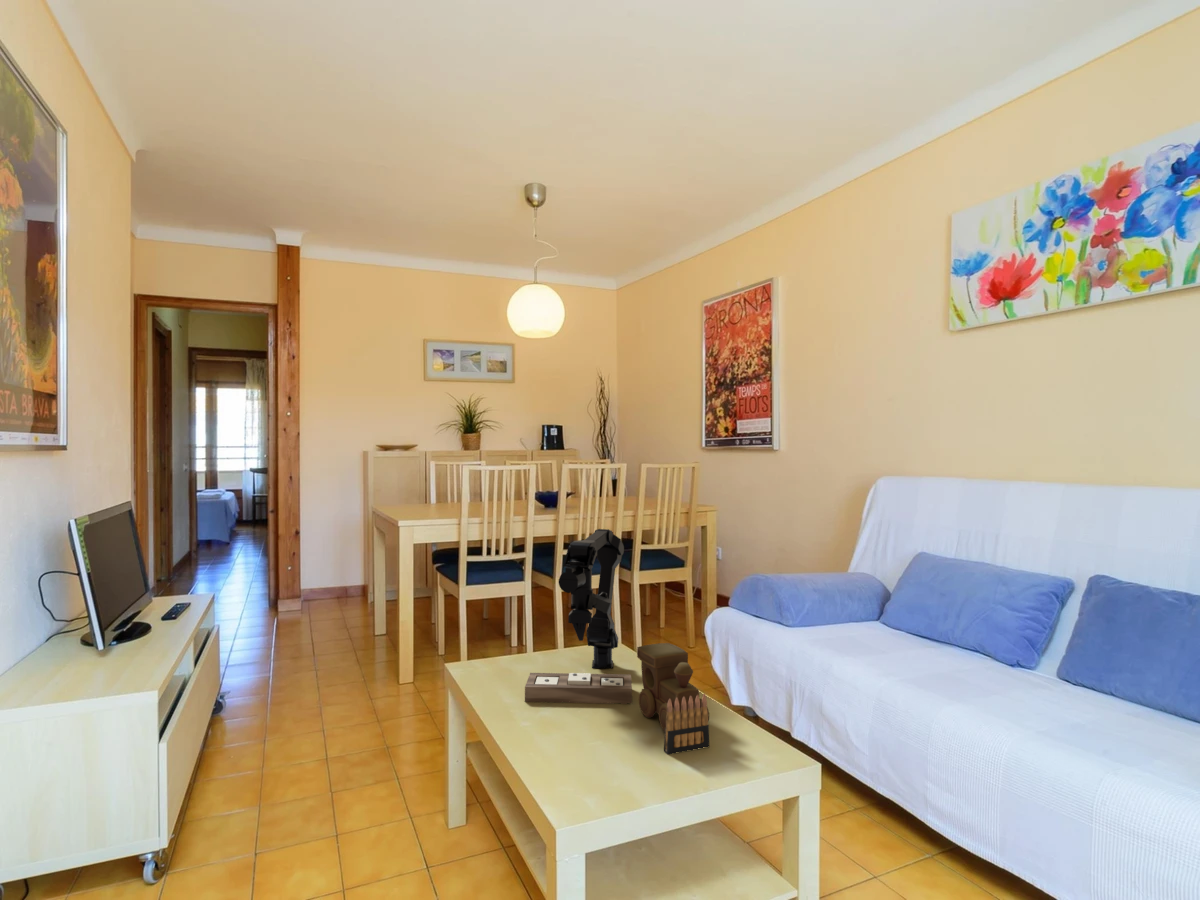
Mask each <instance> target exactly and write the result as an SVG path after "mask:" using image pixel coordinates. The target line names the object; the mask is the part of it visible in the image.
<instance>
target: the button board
mask: <svg viewBox="0 0 1200 900" xmlns="http://www.w3.org/2000/svg"><path fill="white" fill-rule="evenodd" d="M569 673H570V672H568V673H563V672H562V673H561V672H560V673H559V672H556V673H555V672H529V675H528V677H527V681H526V683H525V686H524V702H525V701H526V702H525V703H561V702H567V704H568V703H569V704H573V703H574V704H576V703H577V704H614V703H621V704H622V705H628V704H627V703H632V704H633V685H632V674H625V673H624V674H623V673H622V674H621V673H618V674H617V673H613V674H612V673H591V685H568V677H569ZM537 677H559V681H558V684H535V682H536V679H537ZM601 678H623V686H615V685H601ZM621 704H620V705H621Z"/></svg>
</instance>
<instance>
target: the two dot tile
mask: <svg viewBox="0 0 1200 900" xmlns="http://www.w3.org/2000/svg"><path fill="white" fill-rule="evenodd" d="M568 673H569V677H568V685H591V674H592V673H591V672H588V673H587V672H585V673H584V672H568Z"/></svg>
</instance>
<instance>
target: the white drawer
mask: <svg viewBox="0 0 1200 900" xmlns="http://www.w3.org/2000/svg"><path fill="white" fill-rule="evenodd" d="M558 681H559V677H537V679H536V682H535V684H558Z"/></svg>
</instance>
